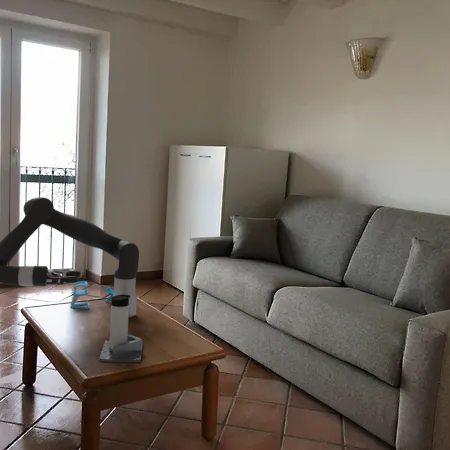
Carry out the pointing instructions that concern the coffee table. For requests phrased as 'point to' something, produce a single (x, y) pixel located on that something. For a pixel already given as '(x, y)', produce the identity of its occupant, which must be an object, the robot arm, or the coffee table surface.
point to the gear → (110, 293)
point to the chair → (79, 293)
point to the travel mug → (119, 320)
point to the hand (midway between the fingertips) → (78, 276)
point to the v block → (123, 351)
